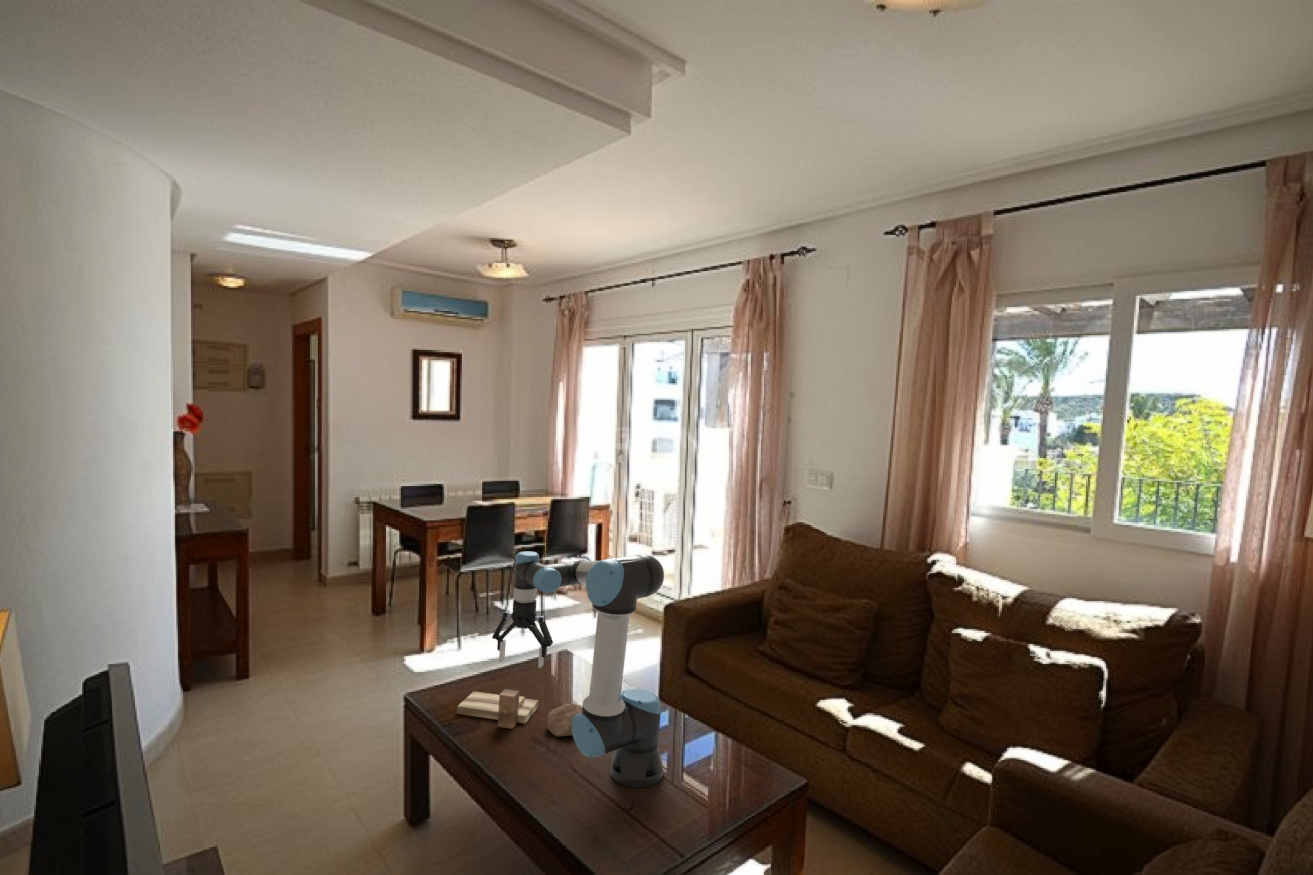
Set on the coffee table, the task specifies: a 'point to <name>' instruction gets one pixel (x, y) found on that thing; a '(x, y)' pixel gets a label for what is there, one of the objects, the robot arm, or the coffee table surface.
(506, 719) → the block
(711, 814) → the coffee table surface
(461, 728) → the coffee table surface
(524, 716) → the board
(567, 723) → the stone
